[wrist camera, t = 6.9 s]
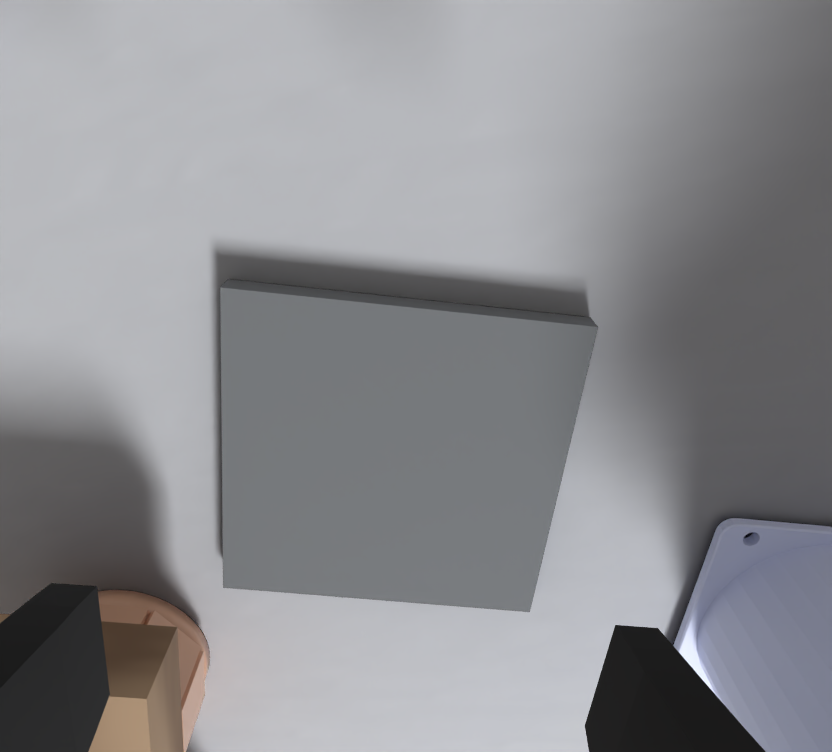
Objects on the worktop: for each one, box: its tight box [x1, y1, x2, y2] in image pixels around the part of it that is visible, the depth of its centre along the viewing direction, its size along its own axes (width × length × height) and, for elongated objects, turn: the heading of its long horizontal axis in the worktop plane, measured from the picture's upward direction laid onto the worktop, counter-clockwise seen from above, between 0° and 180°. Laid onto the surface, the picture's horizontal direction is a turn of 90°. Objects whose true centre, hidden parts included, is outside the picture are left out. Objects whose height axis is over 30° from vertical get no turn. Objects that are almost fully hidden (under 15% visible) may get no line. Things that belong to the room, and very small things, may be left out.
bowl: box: [98, 590, 210, 752], centre depth 22 cm, size 6×6×3 cm
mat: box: [220, 279, 598, 612], centre depth 19 cm, size 10×10×1 cm
